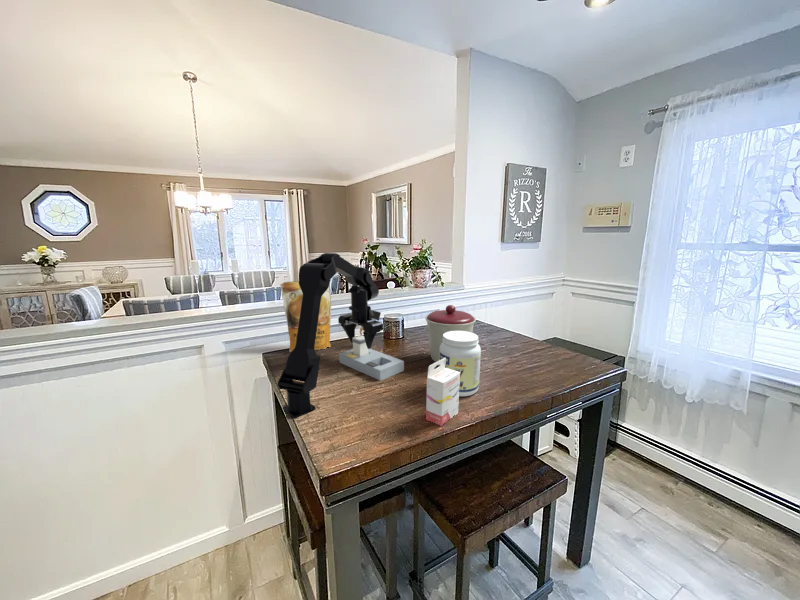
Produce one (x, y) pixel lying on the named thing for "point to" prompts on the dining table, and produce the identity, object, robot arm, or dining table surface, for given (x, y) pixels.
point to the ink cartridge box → (442, 393)
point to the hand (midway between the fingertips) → (360, 345)
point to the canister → (446, 326)
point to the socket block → (373, 364)
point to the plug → (359, 346)
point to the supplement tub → (462, 358)
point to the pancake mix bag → (292, 311)
